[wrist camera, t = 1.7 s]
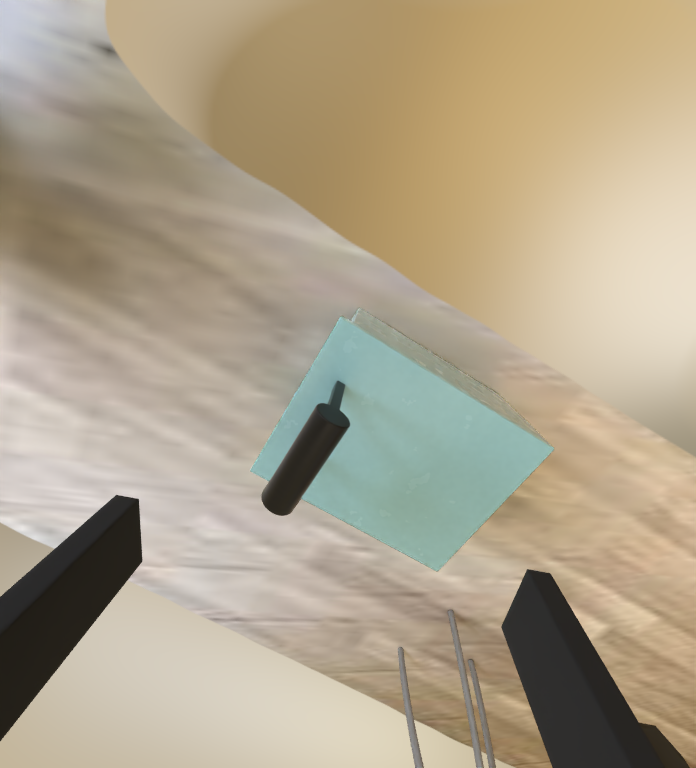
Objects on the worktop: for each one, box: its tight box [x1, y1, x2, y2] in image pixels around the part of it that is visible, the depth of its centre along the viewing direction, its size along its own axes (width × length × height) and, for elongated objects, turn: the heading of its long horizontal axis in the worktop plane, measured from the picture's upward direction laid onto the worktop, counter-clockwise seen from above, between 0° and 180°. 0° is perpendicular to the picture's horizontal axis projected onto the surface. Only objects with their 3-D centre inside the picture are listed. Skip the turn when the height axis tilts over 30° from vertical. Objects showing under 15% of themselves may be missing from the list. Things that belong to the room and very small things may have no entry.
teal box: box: [351, 307, 548, 443], centre depth 32 cm, size 18×15×11 cm
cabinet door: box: [250, 316, 554, 571], centre depth 23 cm, size 19×15×8 cm
